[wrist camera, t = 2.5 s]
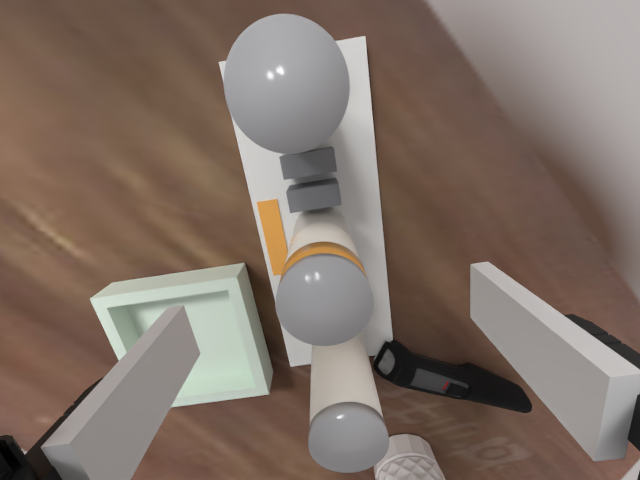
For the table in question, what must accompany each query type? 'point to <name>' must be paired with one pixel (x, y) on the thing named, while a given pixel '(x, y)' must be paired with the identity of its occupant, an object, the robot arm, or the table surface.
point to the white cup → (408, 460)
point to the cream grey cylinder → (286, 83)
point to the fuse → (345, 409)
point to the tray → (196, 328)
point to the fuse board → (325, 196)
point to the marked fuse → (323, 282)
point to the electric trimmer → (447, 378)
